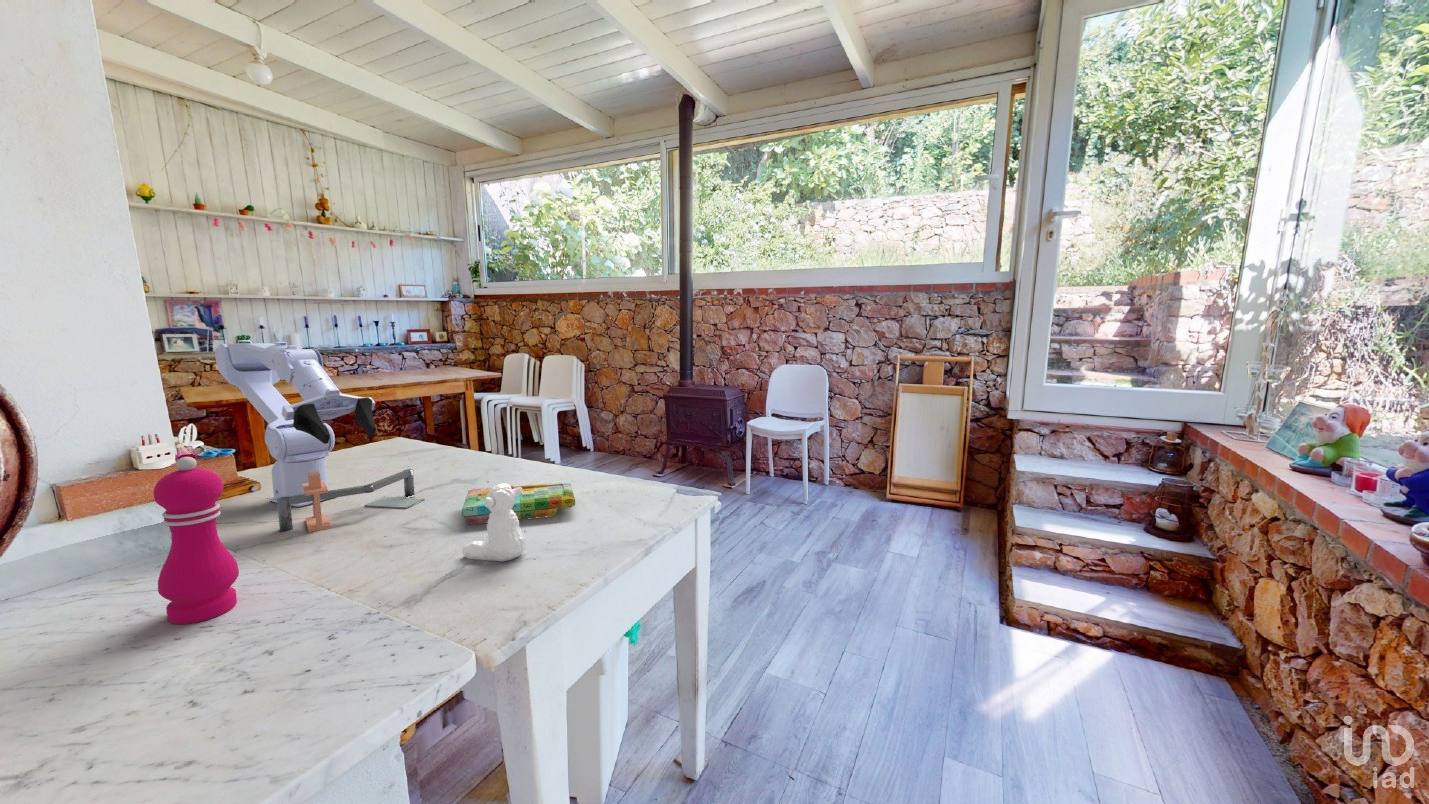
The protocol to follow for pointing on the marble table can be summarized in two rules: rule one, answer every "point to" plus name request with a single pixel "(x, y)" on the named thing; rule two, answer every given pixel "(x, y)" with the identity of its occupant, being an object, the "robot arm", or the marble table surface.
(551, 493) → the puzzle game
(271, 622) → the marble table surface
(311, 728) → the marble table surface
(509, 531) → the sitting furry creature
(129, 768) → the marble table surface
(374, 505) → the pad
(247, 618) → the marble table surface
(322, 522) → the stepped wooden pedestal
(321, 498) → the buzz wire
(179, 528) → the pepper mill
